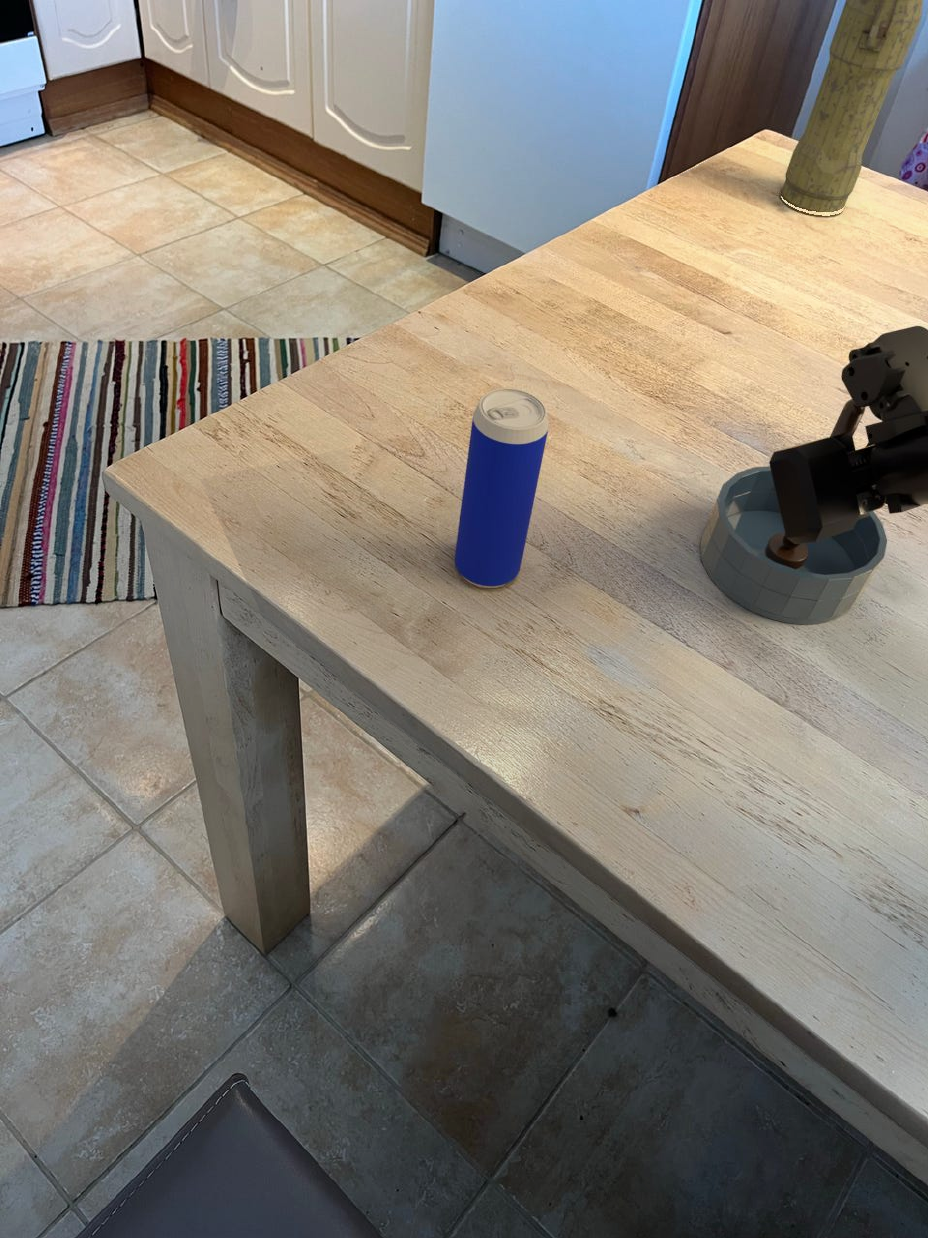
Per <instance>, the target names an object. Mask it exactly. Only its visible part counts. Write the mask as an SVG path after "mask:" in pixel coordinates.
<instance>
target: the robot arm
mask: <svg viewBox="0 0 928 1238" xmlns="http://www.w3.org/2000/svg"><path fill="white" fill-rule="evenodd" d="M848 361H849V362H848V363H847V364H846V365H845V366H844V367H843V368H842V370H841V376H840V379H841V382H842V383H843V385H844V387H845V389H846V391H847V393H848V394H849V397H850V398H851V399H852V400H853V402H854V403H855V405H856V406H858V407H861V408H864V407H865V408H869V410H870V411H871V413H872V415H873V416H874V417H875V418H877V420H880V421H878V422H874V423H871V424H868V425H864V427H865V433H866V437H867V441H868V442H867V444H866V445H865V446H864V447H861V448H858V449H856V446H855V441H854V437H853V436H854V435H853V436H852V431H849V432H846V433H842V434H839V435H835V436H832V437H830V436H828V437H824V438H820V439H816V440H812V441H807V442H804V443H800V444H797V445H793V446H789V447H787V448H783V449H779V450H777V451H773V453H772V455H771V457H770V459H769V462H768V464H769V466H770V468H771V473H772V477H773V482H774V486H775V490H776V495H777V499H778V504H779V508H780V512H781V517H782V521H783V526H784V530H785V534H786V538H787V539H788V540H790V541H791V542H792V543H794V544H800V543H810V542H817V541H820V540H822V539H825V538H828V537H831V536H834V535H837V534H840V533H843V532H846V531H849V530H852V529H853V528H854V526H855V524H856V522H857V520H860V519H863V518H866V517H869V516H870V514H869V512H871V511H874V512H875V511H877V510H880V509H882V508H883V507H884V506H885V505H887V510H888V514H890V515H892V514H900V513H904V512H907V511H909V510H913V509H917V508H919V507H922V506H924V505H928V328H927V327H924V326H921V325H914V326H911V327H910V326H909V327H905V328H901V329H896V330H892V331H889V332H885V333H882V334H880V335H879V336H878V337H876V339H875V340H874V341H872V342H868V343H867V344H866V345H864V347H863V346H862V347H859V348H854V349H852V350H850V351H849V352H848Z"/></svg>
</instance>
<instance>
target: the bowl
mask: <svg viewBox="0 0 928 1238" xmlns="http://www.w3.org/2000/svg"><path fill="white" fill-rule="evenodd" d="M869 514H870V516H869V517H866V518H863V519H860V520H857V522H856V524H855V526H854V528H853V529H852V530H849V531H846V532H843V533H840V534H837V535H834V536H831V537H828V538H825V539H822V540H820V541H817V542H810V543H805V545H806V546H807V548H808V557H807V559H806V561H805V563H804V564H803V566H801V567H800V568H798V569H793V568H790V567H787V566H784V565H782V564H779V563H776V562H774V561H772V560H771V559H769V558H767V557H766V555H765V548H766V546H767V544H768V541H769V539H770V538H771V537H772V536H774V535H777V534H785V530H784V526H783V521H782V517H781V512H780V508H779V504H778V499H777V495H776V490H775V486H774V482H773V477H772V473H771V468H770V465H767V466H754V467H751V468H748V469H745V470H742V471H739V472H736V473H735V474H734V475H733V476H731V477H730V478H729V479H728V480H726V481H725V482H724V483H723V484H722V485H721V487H720V491H719V493H718V496H717V498H716V500H715V503H714V506H713V508H712V511H711V513H710V515H709V519H708V521H707V523H706V525H705V529H704V531H703V534H702V535H701V542H700V547H699V548H700V549H699V551H700V558H701V563H702V565H703V567H704V569H705V572H706V574H707V575H708V577H709V578H710V580H711V581H712V582H713V583H714V585H715V586H716V587H717V588H718V590H720V591H721V592H722V593H723V594H724V595H726V596H727V598H729V599H731V600H732V601H733V602H735V603H736V604H738V605H740V606H741V607H743V608H744V609H747V610H748V611H750V612H752V613H754V614H757V615H759V616H760V617H761V616H762V617H764V618H767V619H770V620H773V621H777V622H781V623H787V624H794V625H808V626H809V625H819V624H823V623H824V624H825V623H829V622H832V621H835V620H837V619H840V618H841V617H844V616H845V615H846V614H847V613H849V612H850V611H851V610H852V609H853V608H854V607H855V605H856V603H857V602H858V600H859V599H860V598H862V596H863V594H864V592H865V590H866V589H867V587H868V585H869V584H870V582H871V581H872V579H873V577H874V576H875V574H876V572H877V570H878V569H879V567H880V565H881V564H882V563H883V560H884V558H885V556H886V551H887V545H888V537H887V534H886V531H885V528H884V525H883V524H884V523H882V520H881V519H880V517H879V516H878V515H877V514H876V513H875V510H874V511H871V512H869Z"/></svg>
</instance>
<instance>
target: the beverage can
mask: <svg viewBox="0 0 928 1238" xmlns="http://www.w3.org/2000/svg"><path fill="white" fill-rule="evenodd" d="M549 429H550V422H549V416H548V411H547V408H546V406H545V404H544V402H543V401H542V400H541V399H540V398H538V396H535V395H534V394H532V393H530V392H527V391H525V390H522V389H517V388H507V387H506V388H497V389H493V390H490V391H488V392H486V393H484V394H483V396H482V397H481V398H480V399H479V401H478V403H477V405H476V406H475V409H474V411H473V414H472V421H471V428H470V435H469V444H468V452H467V458H466V459H467V460H466V465H465V466H466V467H465V474H464V482H463V483H464V484H463V489H462V490H463V491H462V498H461V505H460V514H459V520H458V521H459V522H458V529H457V538H456V544H455V552H454V559H453V560H454V561H453V562H454V565H455V569H456V571H457V572H458V573H459V574H460V576H461V577H462V578H463V579H464V580H465V581H467V582H468V583H469V584H471V585H473V586H475V587H478V588H483V589H497V588H500V587H503V586H505V585H507V584H509V583H510V582H512V581H514V580H515V579H516V578H517V577H518V575H519V573H520V571H521V567H522V562H523V556H524V552H525V547H526V542H527V537H528V533H529V527H530V522H531V517H532V513H533V507H534V503H535V497H536V494H537V493H536V492H537V488H538V483H539V477H540V473H541V468H542V464H543V463H542V462H543V458H544V453H545V449H546V444H547V439H548V433H549Z"/></svg>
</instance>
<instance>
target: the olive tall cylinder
mask: <svg viewBox="0 0 928 1238" xmlns="http://www.w3.org/2000/svg"><path fill="white" fill-rule="evenodd" d="M923 4H924V0H845V1H844V5H843V8H842V11H841V13H840V16H839V20H838V22H837V25H836V28H835V31H834V33H833V34H834V35H833V37H832V39H831V42H830V45H829V49H828V50H829V60H828V63H827V66H826V69H825V72H824V75H823V77H822V80H821V83H820V86H819V89H818V92H817V95H816V98H815V101H814V103H813V107H812V110H811V112H810V115H809V117H808V121H807V124H806V127H805V130H804V131H803V135H802V136H801V137H800V139H799V140H798V142H797V144H796V146H795V148H794V149H793V151H792V154H791V157H790V160H789V163H788V166H787V169H786V171H785V175H784V176H785V177H784V178H785V180H784V182H783V186H782V188H781V190H780V192H781V196H782V197H783V199H784V200H786V201H787V202H788V203H790V204H792V205H794V206H795V207H799V208H802V209H806V210H808V211H816V212H834V211H838V210H840V209H842V208H843V207H844V206H845V207H846V203H847V201H848V198H849V196H851V194H852V193H853V191H854V188H855V186H856V183H857V181H858V178H859V176H860V174H861V171H862V166H863V165H862V164H863V154H864V151H865V149H866V147H867V144H868V142H869V139H870V136H871V134H872V132H873V129H874V126H875V125H876V122H877V119H878V116H879V114H880V112H881V109H882V106H883V104H884V101H885V99H886V97H887V93H888V91H889V88H890V86H891V83H892V81H893V78H894V76H895V74H896V73H897V72H898V71H899V70H900V68H901V67H902V66H903V64H904V61H905V59H906V57H907V54H908V53H909V49H910V47H911V44H912V42H913V39H914V37H915V34H916V32H917V29H918V27H919V24H920V22H921V19H922V13H923ZM779 200H780V201H781V202H782V204H784V205H785V206H786V207H788V208H790V209H792V210H794V211H795V212H797V213H800V214H804V215H806V216H812V217H817V218H833V217H837V216H840V215H842V213H843V212H844V210H843V211H842V212H841V213H839V214H837V215H830V216H822V215H814V214H809V213H806V212H803V211H799V210H797V209H795V208H793V207H791V206H789V205H788V204H786V203H785V202H784V201H783V200H782V198H781V197H780V196H779Z"/></svg>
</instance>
